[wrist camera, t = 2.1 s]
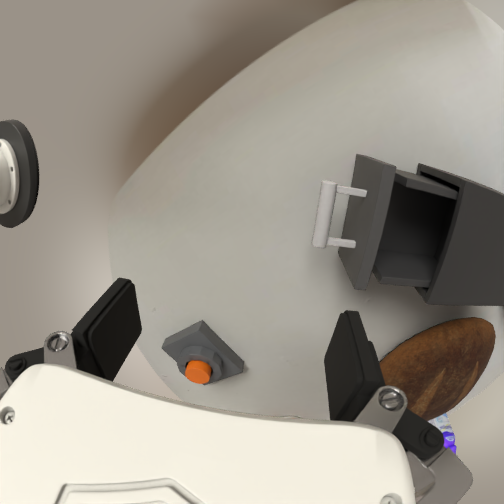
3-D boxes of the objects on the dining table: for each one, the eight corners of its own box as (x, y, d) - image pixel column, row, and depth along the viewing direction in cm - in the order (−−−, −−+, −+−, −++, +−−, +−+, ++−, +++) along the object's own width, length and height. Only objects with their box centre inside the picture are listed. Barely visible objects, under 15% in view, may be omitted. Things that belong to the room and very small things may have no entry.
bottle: (447, 405, 46) (466, 458, 31) (432, 417, 49) (448, 470, 33) (430, 404, 46) (450, 463, 30) (415, 418, 48) (431, 475, 33)
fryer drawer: (302, 248, 31) (309, 285, 24) (317, 147, 26) (333, 153, 19) (430, 263, 30) (459, 296, 23) (453, 179, 25) (493, 196, 18)
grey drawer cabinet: (394, 260, 31) (426, 304, 23) (418, 163, 26) (466, 180, 17) (470, 270, 31) (504, 305, 22) (494, 189, 26) (539, 212, 17)
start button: (182, 363, 37) (179, 372, 36) (200, 356, 36) (197, 365, 34) (199, 377, 38) (196, 386, 37) (216, 371, 37) (214, 380, 36)
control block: (165, 338, 40) (157, 356, 36) (202, 319, 38) (195, 338, 34) (206, 375, 43) (202, 393, 40) (244, 361, 41) (241, 381, 37)
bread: (350, 418, 47) (355, 452, 39) (373, 324, 36) (390, 368, 28) (458, 390, 44) (470, 417, 36) (504, 297, 32) (528, 325, 25)
